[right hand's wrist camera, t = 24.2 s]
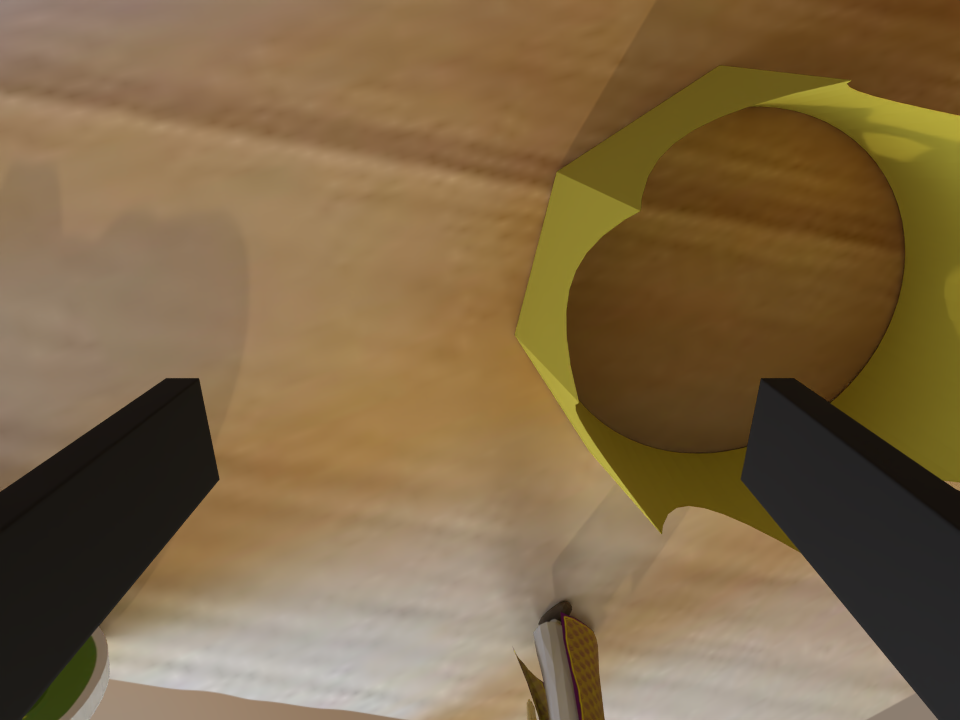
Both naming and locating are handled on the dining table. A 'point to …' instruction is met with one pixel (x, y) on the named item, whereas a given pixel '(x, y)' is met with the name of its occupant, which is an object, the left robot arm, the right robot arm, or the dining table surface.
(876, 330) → the dining table surface
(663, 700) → the dining table surface
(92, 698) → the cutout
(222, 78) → the dining table surface
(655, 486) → the crown
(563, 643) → the figurine
